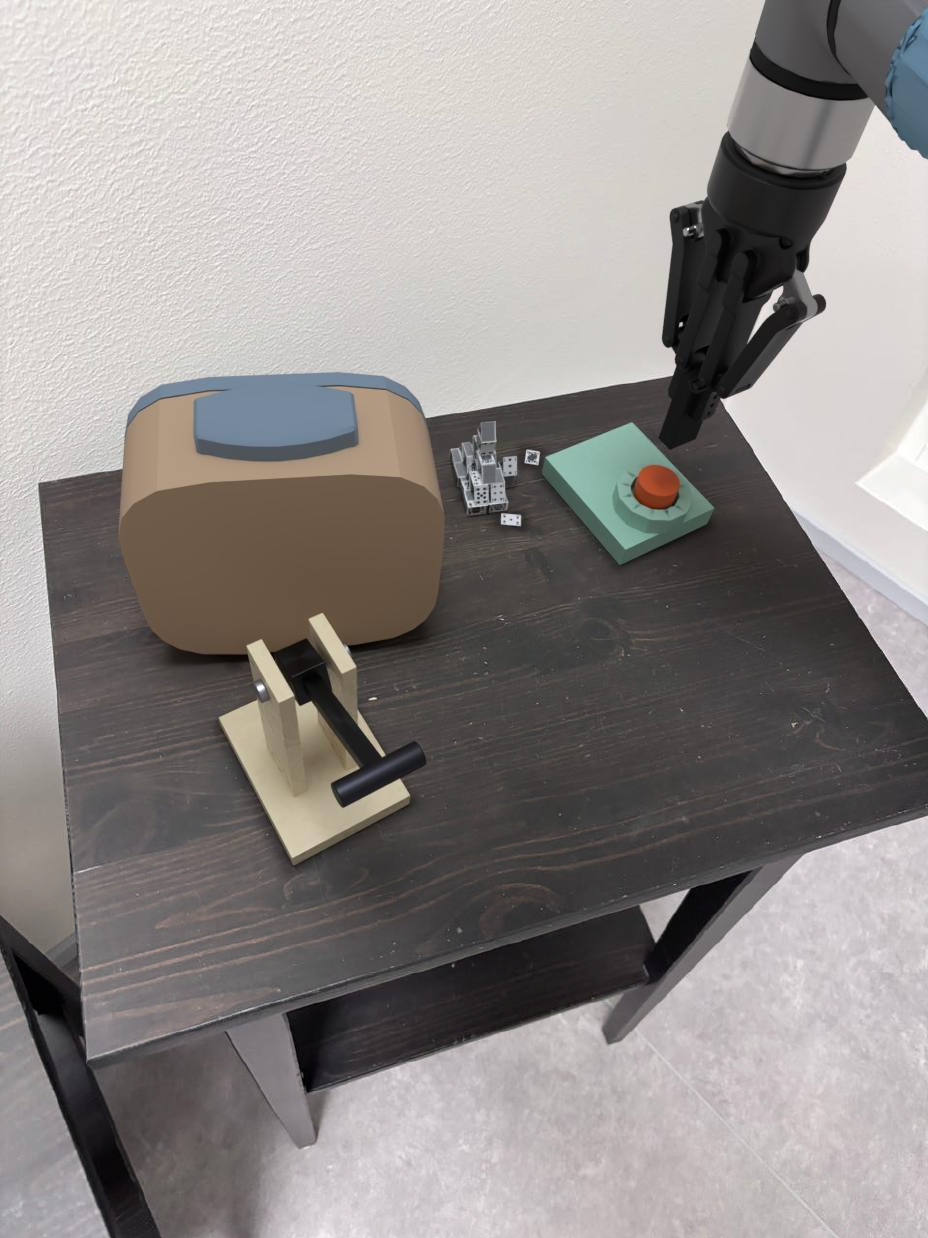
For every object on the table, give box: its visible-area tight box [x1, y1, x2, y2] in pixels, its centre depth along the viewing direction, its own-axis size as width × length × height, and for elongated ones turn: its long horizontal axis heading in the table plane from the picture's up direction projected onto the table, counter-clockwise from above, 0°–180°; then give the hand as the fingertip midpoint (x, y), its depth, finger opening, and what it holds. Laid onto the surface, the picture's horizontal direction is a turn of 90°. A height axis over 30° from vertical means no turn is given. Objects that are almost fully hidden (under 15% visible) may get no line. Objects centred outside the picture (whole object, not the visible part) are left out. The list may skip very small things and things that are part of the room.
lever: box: [273, 638, 427, 808], centre depth 52 cm, size 12×5×2 cm, turn 32°
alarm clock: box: [117, 371, 446, 655], centre depth 64 cm, size 21×10×22 cm, turn 99°
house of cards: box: [448, 420, 541, 527], centre depth 79 cm, size 9×9×8 cm
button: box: [633, 465, 680, 509], centre depth 78 cm, size 4×4×2 cm
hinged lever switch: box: [218, 613, 411, 867], centre depth 60 cm, size 12×9×15 cm
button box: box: [541, 421, 715, 566], centre depth 81 cm, size 12×10×4 cm
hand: (677, 438), depth 73 cm, fingers closed
